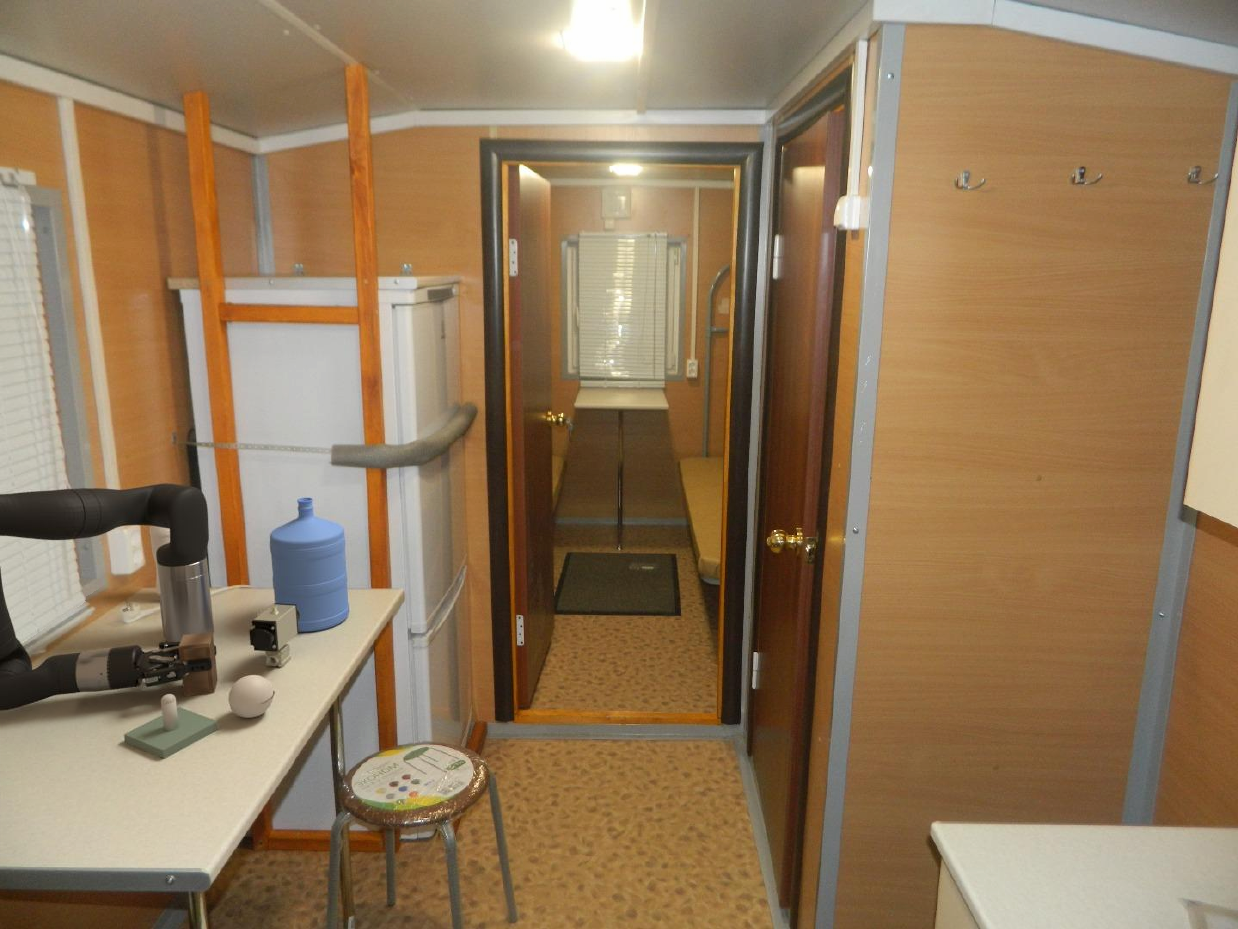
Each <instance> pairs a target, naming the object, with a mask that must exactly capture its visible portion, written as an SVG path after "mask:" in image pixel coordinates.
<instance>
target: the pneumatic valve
mask: <svg viewBox="0 0 1238 929" xmlns="http://www.w3.org/2000/svg"><path fill="white" fill-rule="evenodd" d="M299 620H300V613H299V611H298V610H297V605H296V604H281V603H275V602H274V603H273V604H272V605H271V606H269V607H267V609H265V610H261V611H260V612H259V613H257V614H256V617H255V618H254V619H252V620H251V629H249V640H250V645H251V646H253V651H257V652H258V651H259V652H265V653H264V654H265V655H266V659H265V662H266V664H265V665H266V666H267V667H277V666H278V667H279V668H282V667H283V666H284V665H286V663H288V662H289V661H290V660H291V655H290V650H291V648H290V647H291V646H290V644H289V643H288V642H290V641H291V640H292V639H293V638H294V637H295V636H296V635H298V634H299V633H300V632H299V630H298V622H299Z"/></svg>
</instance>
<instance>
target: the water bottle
mask: <svg viewBox="0 0 1238 929" xmlns="http://www.w3.org/2000/svg"><path fill="white" fill-rule="evenodd" d="M149 535H150V541H151V542H150V543H151V551H152V553H151V554H152V556H153V557H152V558H153V560H154V564H155V571H156V576H155V577H156V579H155V581H156V582H155V589H156V592H157V595H158V596H159V594H160V593H161V591H160V582H159V574H158V565H157V557H156V552H157V549H158V548H159V547H161V546H162V545H164V544H167V543H170V529H168V528H162V527H156V526H149Z"/></svg>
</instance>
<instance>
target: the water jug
mask: <svg viewBox="0 0 1238 929" xmlns="http://www.w3.org/2000/svg"><path fill="white" fill-rule="evenodd" d="M313 500H314V499H313V498H312V497H302V498H298V499H297V500H296V502H297V504H298V505H297V511H298V515H297V517H296V518H295V519H292V520H291V521H289V522H286V523H284V524H282V525H280V526H278V527H276V528H274V529H273V530H272V531H271V532H270V535H269V550H270V551H269V552H270V556H271V557H270V558H271V568H272V588H273V590H274V591H273V593H274V603H281V604H296V605H297V610H298V611H299V613H300V620H299V622H298V630H299V633H303V632H317V631H323V630H326V629H330V628H333V627H335V626H337V625H339V624H341V623H343V622H344V621H345V620H346V619H347V618H348V616H349V615H350V604H349V597H348V596H349V595H348V593H349V592H348V574H347V572H348V571H347V564H346V563H347V562H346V560H347V558H346V536H345V529H344V527H343V526H342V525H341V524H340V523H338V522H334V521H331V520H328V519H324V518H321V517H317V516H315V514H314V505H313Z"/></svg>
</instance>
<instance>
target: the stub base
mask: <svg viewBox="0 0 1238 929" xmlns="http://www.w3.org/2000/svg"><path fill="white" fill-rule="evenodd" d="M160 706H161V715H159V716H158V717H156V718H154V719H151V720H150V721H148V722H146V723H144V724H142V725H139V726H138V727H137V726H136V728H134V729H132V730H130V731H127V732H126V733H123V736H124V743H126V744H128V745H130V746H133V747H136V748H138V749H140V750H142V751H145V752H148V753H150V754H152V755H155V756H156V757H159V758H162V759H166V758H169V757H170V756H173V755H174V754H175V753H177V752H179V751H181V750H183V749H185V748H187V747H189V746H190V745H192V744H194V743H195V742H197V741H199V740H201V739H203V738H206V737H207V736H208V735H210V734H212V733H214V732H216V731H217V730H219V721H218V720H215V719H213V718H210V717H207V716H204V715H202V714H198V713H197V712H193V711H191V710H188V709H185V708H183V707H180V706H178V705H177V699H176V696H175V695H174V694H172V693H167V694H165V695H163V696H162V697H161V699H160ZM177 706H178V707H177Z"/></svg>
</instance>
